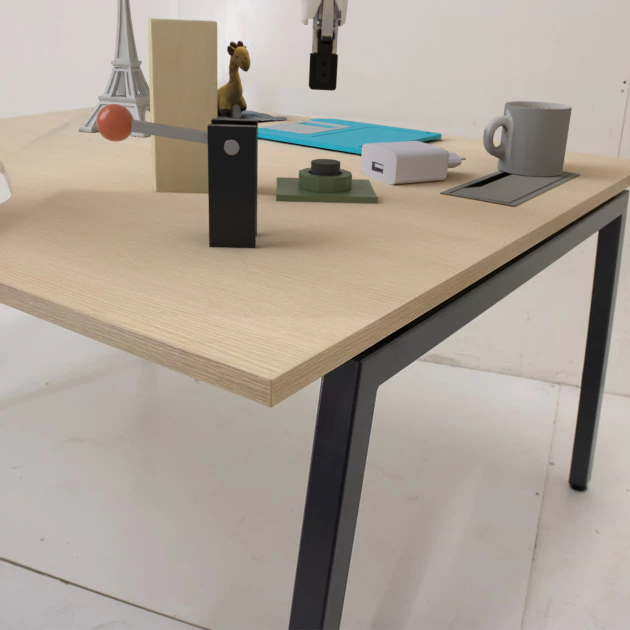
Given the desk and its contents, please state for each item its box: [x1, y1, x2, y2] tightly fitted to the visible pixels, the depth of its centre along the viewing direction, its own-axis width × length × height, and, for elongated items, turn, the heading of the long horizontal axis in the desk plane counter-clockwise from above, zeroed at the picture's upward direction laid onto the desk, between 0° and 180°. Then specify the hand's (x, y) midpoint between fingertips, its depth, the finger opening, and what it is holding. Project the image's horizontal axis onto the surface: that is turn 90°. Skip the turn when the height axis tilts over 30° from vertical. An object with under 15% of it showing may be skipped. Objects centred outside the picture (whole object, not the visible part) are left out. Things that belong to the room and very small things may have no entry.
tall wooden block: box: [146, 17, 218, 195], centre depth 100 cm, size 8×7×21 cm
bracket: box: [207, 118, 259, 249], centre depth 76 cm, size 12×9×13 cm
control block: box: [275, 167, 378, 205], centre depth 99 cm, size 12×10×4 cm
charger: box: [360, 141, 467, 185], centre depth 117 cm, size 5×9×15 cm
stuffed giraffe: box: [217, 40, 289, 122], centre depth 168 cm, size 16×18×16 cm
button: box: [310, 158, 341, 176], centre depth 98 cm, size 4×4×2 cm
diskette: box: [258, 118, 442, 155], centre depth 149 cm, size 26×28×1 cm
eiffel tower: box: [78, 0, 151, 138], centre depth 145 cm, size 13×13×30 cm
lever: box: [96, 104, 208, 144], centre depth 74 cm, size 14×3×3 cm, turn 92°
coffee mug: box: [482, 100, 573, 178], centre depth 123 cm, size 13×10×10 cm
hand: (322, 89), depth 94 cm, fingers closed
